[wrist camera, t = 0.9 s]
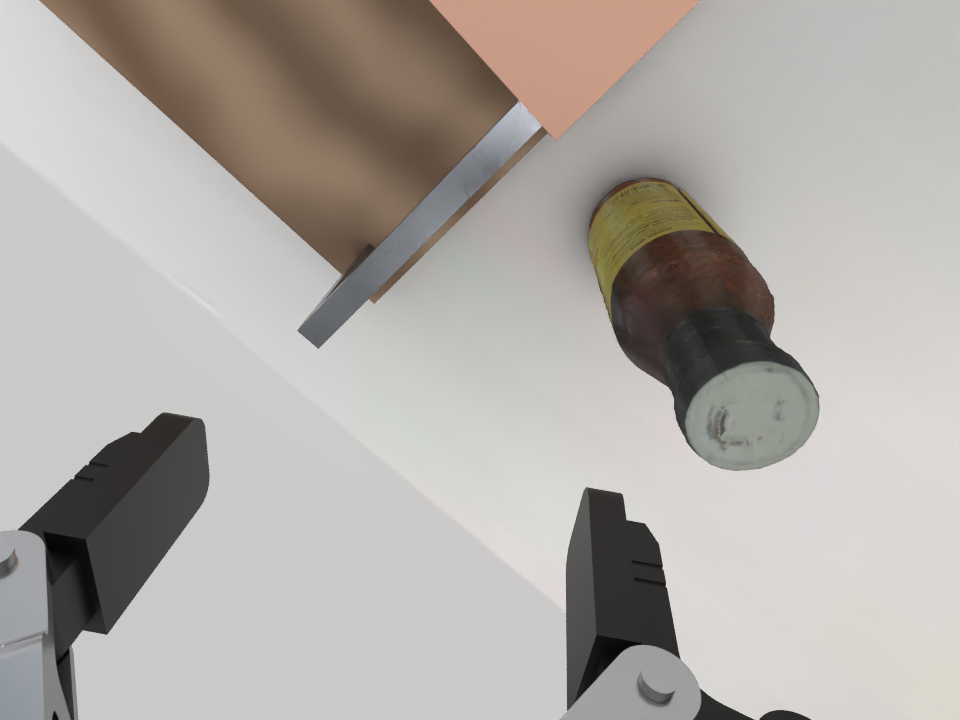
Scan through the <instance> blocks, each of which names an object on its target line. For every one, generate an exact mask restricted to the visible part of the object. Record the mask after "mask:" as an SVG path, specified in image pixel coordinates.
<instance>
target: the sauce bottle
mask: <svg viewBox="0 0 960 720" xmlns="http://www.w3.org/2000/svg"><path fill="white" fill-rule="evenodd" d="M589 252H590V258H591V260H592V263H593V266H594V269H595V273H596V276H597V279H598V283H599V287H600V291H601V293H602V295H603V298H604V302H605V304H606V308H607V310H608V315H609V318H610V321H611V324H612V327H613V330H614V333H615V335H616V338H617V341H618V343H619V345H620V347H621V348H622V350H623V352H624V353H625V354H626V356H627V357H628V358H629V359H630V360H631V361H632V362H633V363H634V364H635V365H636V366H637V367H638V368H640V369H641V370H643V371H644V372H646V373H647V374H649V375H650V376H652V377H654V378H655V379H657V380H658V381H660V382H661V383H663V384H664V385H666V386H667V387H669V389H670V390H671V391H672V394H673V397H674V410H675V414H676V420H677V422H678V425H679V427H680V429H681V431H682V433H683V435H684V436H685V439H686V442H687V443H688V444H689V446H690V447H691V448H692V449H693V451H694V452H695V453H696V454H698V455H699V456H700V457H701V458H703V459H704V460H706V461H707V462H708V463H709V464H711V465H713V466H716V467H719V468H722V469H726V470H733V471H740V470H753V469H761V468H763V467H766V466H769V465H772V464H775V463H777V462H779V461H781V460H783V459H785V458H787V457H789V456H791V455H793V454H794V453H795V452H796V451H797V450H798V449H799V448H800V447H802V446H803V445H804V444H805V442H806V441H807V440H808V438H809V437H810V436H811V434H812V432H813V430H814V429H815V426H816V424H817V420H818V416H819V395H818V393H817V391H816V389H815V387H814V385H813V383H812V381H811V380H810V378H809V377H808V375H807V374H806V373H805V371H804V370H803V369H802V367H801V366H800V364H799V363H798V362H797V361H796V360H795V359H794V358H793V357H792V356H791V355H790V354H788V353H786V352H784V351H783V350H782V349H780V348H778V347H777V346H776V345H775V344H774V343H773V342H772V340H771V339H770V334H771V330H772V327H773V323H774V315H775V313H774V307H775V306H774V297H773V295H772V294H771V293H770V291H769V289H768V286H767V284H766V281H765V280H764V279H763V277H762V276H761V275H760V273H759V272H758V271H757V269H756V268H755V267H754V266H752V264H751V263H750V262H749V260H748V258H747V257H746V255H745V254H744V252H743V251H742V250H741V249H740V248H739V246H738V245H737V244H736V243H735V242H734V241H733V240H732V239H731V238H730V237H729V236H728V235H727V234H726V233H725V232H724V231H723V230H722V229H721V228H720V227H719V226H718V225H717V224H716V223H715V221H714V220H713V219H712V218H711V217H710V216H709V215H708V214H707V213H706V212H705V211H704V210H703V209H702V208H701V207H700V206H699V205H698V204H697V203H696V202H695V201H694V200H693V199H692V198H691V197H690V196H689V195H688V194H687V193H686V192H685V191H683V190H682V189H680V188H676V187H674V186H673V185H672V184H671V183H670V182H667V181H664V180H659V179H653V178H650V179H645V178H644V179H640V180H635V181H630V182H627V183H623V184H621V185H619V186H617V187H616V188H615V189H614V190H612V191H611V192H610V193H609V194H608V195H607V196H606V197H605V198H604V199H603V200H602V201H601V202H600V203H599V205H598V207H597V208H596V210H595V211H594V213H593V215H592V219H591V222H590V234H589Z"/></svg>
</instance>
